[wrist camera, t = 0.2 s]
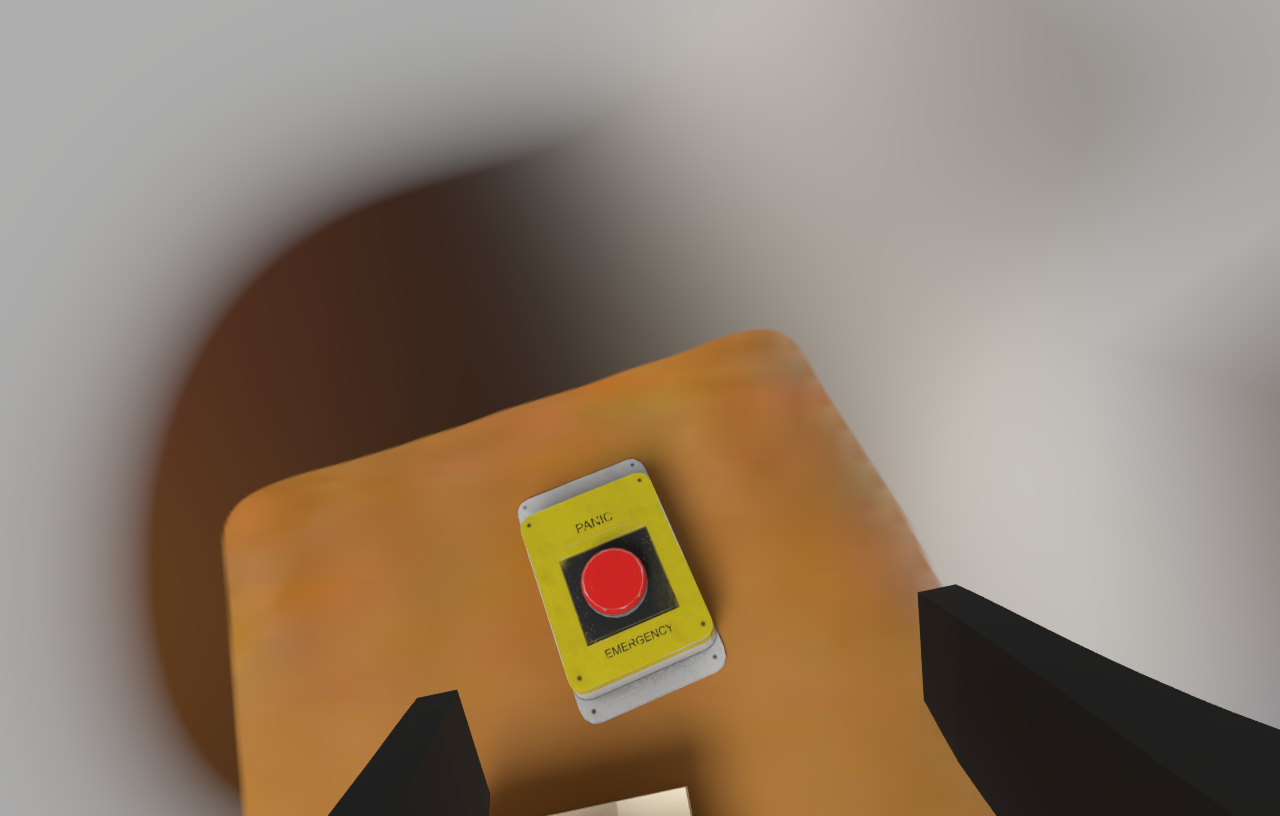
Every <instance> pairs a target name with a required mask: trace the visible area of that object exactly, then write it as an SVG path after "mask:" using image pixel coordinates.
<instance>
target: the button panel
mask: <svg viewBox="0 0 1280 816" xmlns="http://www.w3.org/2000/svg"><path fill="white" fill-rule="evenodd" d="M547 816H693V814H692V809H691V804H690V798H689V793H688V788H687V786H684V787H679V788H675V789H670V790H665V791H661V792H656V793H651V794H646V795H642V796H637V797H632V798H627V799H623V800H618V801H613V802H608V803H604V804H599V805H594V806H590V807H585V808H580V809H575V810H571V811H566V812H561V813H556V814H552V815H547Z"/></svg>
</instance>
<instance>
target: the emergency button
mask: <svg viewBox="0 0 1280 816" xmlns="http://www.w3.org/2000/svg"><path fill="white" fill-rule="evenodd" d="M518 518H519V522H520V525H521V534H522V537H523V540H524V543H525V547H526V550H527V553H528V556H529V559H530V562H531V566H532V569H533V572H534V575H535V578H536V581H537V585H538V588H539V591H540V594H541V597H542V600H543V604H544V607H545V610H546V613H547V616H548V620H549V623H550V626H551V629H552V632H553V635H554V639H555V642H556V645H557V648H558V651H559V654H560V658H561V661H562V664H563V667H564V670H565V673H566V677H567V680H568V683H569V685H570V686H571V688H572V689H573V692H574V695H575V698H576V701H577V705H578V708H579V711H580V712H581V714H582V716H583V717H584V719H585V720H587V721H588V722H590V723H592V724H599V723H603V722H605V721H607V720H610V719H612V718H614V717H616V716H619V715H621V714H623V713H626V712H628V711H630V710H632V709H635V708H637V707H639V706H641V705H644V704H646V703H648V702H650V701H653V700H655V699H657V698H659V697H662V696H664V695H666V694H668V693H671V692H673V691H675V690H677V689H680V688H682V687H684V686H686V685H689V684H691V683H693V682H696V681H698V680H700V679H702V678H705V677H707V676H709V675H711V674H714V673H716V672H718V671H719V670H720V669H721V668H722V667H723V666H724V662H725V659H726V655H725V650H724V646H723V644H722V641H721V639H720V637H719V635H718V632H717V630H716V628H715V626H714V623H713V620H712V618H711V616H710V613H709V611H708V609H707V607H706V604H705V602H704V600H703V598H702V595H701V593H700V591H699V589H698V586H697V584H696V582H695V579H694V577H693V575H692V573H691V570H690V568H689V566H688V564H687V561H686V559H685V557H684V555H683V552H682V550H681V548H680V545H679V543H678V541H677V539H676V536H675V534H674V532H673V530H672V527H671V525H670V523H669V520H668V518H667V516H666V514H665V511H664V509H663V507H662V505H661V502H660V500H659V498H658V496H657V493H656V491H655V489H654V486H653V484H652V482H651V480H650V478H649V476H648V474H647V471H646V469H645V467H644V466H643V465H642V463H641V462H639V461H637V460H635V459H629V460H625V461H622V462H620V463H617V464H615V465H612V466H610V467H607V468H605V469H602V470H600V471H597V472H595V473H592V474H590V475H587V476H585V477H582V478H580V479H577V480H575V481H572V482H570V483H567V484H564V485H562V486H559V487H557V488H554V489H552V490H549V491H547V492H544V493H542V494H539V495H537V496H534V497H532V498H529V499H527V500H526V501H524V502H523V503H522V504H521V505H520V508H519V510H518Z"/></svg>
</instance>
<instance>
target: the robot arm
mask: <svg viewBox="0 0 1280 816" xmlns="http://www.w3.org/2000/svg"><path fill="white" fill-rule="evenodd" d="M918 606H919V623H920V641H921V658H922V675H923V693H924V701H925V703H926V705H927V706H928V708H929V710H930V712H931V714H932V716H933V717H934V719H935V721H936V723H937V725H938V727H939V729H940V730H941V732H942V734H943V736H944V738H945V739H946V741H947V743H948V744H949V746H950V748H951V750H952V751H953V753H954V755H955V757H956V758H957V760H958V762H959V764H960V765H961V766H962V768H963V769H964V771H965V772H966V774H967V775H968V776H969V778H970V779H971V781H972V782H973V784H974V785H975V786H976V788H977V789H978V791H979V792H980V793H981V795H982V796H983V798H984V799H985V800H986V802H987V803H988V805H989V806H990V807H991V809H992V810H993V812H994V813H995V814H996V816H1280V730H1279V729H1276V728H1274V727H1271V726H1268V725H1266V724H1263V723H1260V722H1258V721H1255V720H1252V719H1250V718H1247V717H1244V716H1242V715H1239V714H1236V713H1233V712H1231V711H1228V710H1226V709H1223V708H1221V707H1218V706H1216V705H1213V704H1211V703H1208V702H1206V701H1204V700H1201V699H1199V698H1196V697H1194V696H1191V695H1189V694H1187V693H1185V692H1182V691H1180V690H1178V689H1175V688H1173V687H1171V686H1168V685H1166V684H1163V683H1161V682H1159V681H1157V680H1154V679H1152V678H1150V677H1148V676H1145V675H1143V674H1140V673H1138V672H1136V671H1134V670H1132V669H1130V668H1128V667H1125V666H1123V665H1121V664H1119V663H1116V662H1114V661H1112V660H1110V659H1108V658H1106V657H1104V656H1102V655H1100V654H1097V653H1095V652H1093V651H1091V650H1089V649H1087V648H1085V647H1083V646H1080V645H1079V644H1077V643H1074V642H1072V641H1070V640H1068V639H1066V638H1064V637H1062V636H1060V635H1058V634H1056V633H1054V632H1052V631H1050V630H1048V629H1046V628H1044V627H1042V626H1040V625H1038V624H1036V623H1034V622H1032V621H1030V620H1028V619H1026V618H1024V617H1022V616H1020V615H1018V614H1016V613H1014V612H1012V611H1010V610H1008V609H1006V608H1004V607H1002V606H1000V605H998V604H996V603H994V602H992V601H990V600H988V599H986V598H984V597H982V596H980V595H978V594H976V593H974V592H972V591H969V590H967V589H965V588H963V587H961V586H958V585H951V586H946V587H941V588H936V589H932V590H927V591H922V592H918ZM489 806H490V792H489V789H488V786H487V783H486V780H485V776H484V773H483V770H482V767H481V764H480V761H479V757H478V754H477V751H476V748H475V745H474V742H473V738H472V735H471V732H470V729H469V726H468V723H467V719H466V716H465V713H464V710H463V707H462V704H461V700H460V697H459V694H458V691H457V690H453V691H448V692H444V693H439V694H434V695H429V696H425V697H420V698H417V699H416V700H415V702H414V703H413V704H412V705H411V707H410V708H409V709H408V710H407V712H406V713H405V714H404V716H403V717H402V718H401V720H400V721H399V722H398V724H397V725H396V726H395V728H394V729H393V730H392V732H391V733H390V734H389V736H388V737H387V739H386V740H385V741H384V743H383V744H382V745H381V747H380V748H379V749H378V751H377V752H376V753H375V755H374V756H373V757H372V759H371V760H370V761H369V763H368V764H367V765H366V767H365V768H364V769H363V771H362V772H361V773H360V775H359V776H358V777H357V778H356V780H355V781H354V782H353V784H352V785H351V786H350V788H349V789H348V790H347V791H346V793H345V794H344V795H343V797H342V798H341V799H340V801H339V802H338V803H337V804H336V806H335V807H334V808H333V810H332V811H331V812H330V814H329V815H328V816H489Z"/></svg>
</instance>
